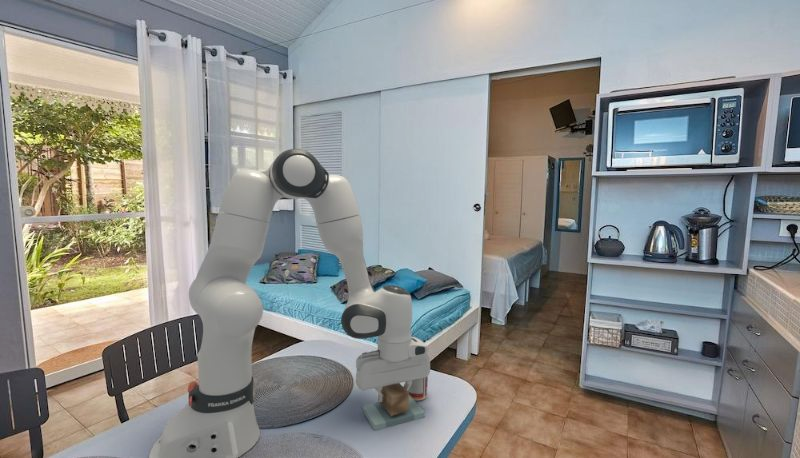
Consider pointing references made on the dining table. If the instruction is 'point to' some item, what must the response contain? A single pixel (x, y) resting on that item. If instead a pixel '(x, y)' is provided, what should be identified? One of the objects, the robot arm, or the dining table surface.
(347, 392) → the dining table surface
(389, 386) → the walnut block
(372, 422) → the plate
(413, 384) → the pill bottle
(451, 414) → the dining table surface
